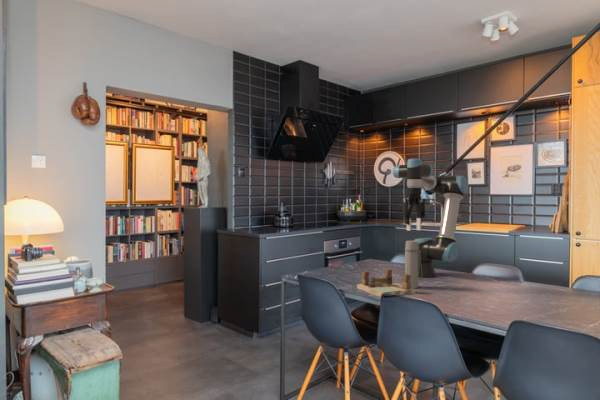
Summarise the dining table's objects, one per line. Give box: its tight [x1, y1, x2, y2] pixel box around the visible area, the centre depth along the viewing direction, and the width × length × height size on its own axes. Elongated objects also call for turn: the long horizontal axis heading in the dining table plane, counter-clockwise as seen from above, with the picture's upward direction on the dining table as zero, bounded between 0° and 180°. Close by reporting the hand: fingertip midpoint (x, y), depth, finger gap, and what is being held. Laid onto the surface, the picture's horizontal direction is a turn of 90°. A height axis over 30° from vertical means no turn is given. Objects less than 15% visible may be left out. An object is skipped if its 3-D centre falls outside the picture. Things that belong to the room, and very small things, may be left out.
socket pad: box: [371, 286, 399, 293], centre depth 196 cm, size 10×10×1 cm
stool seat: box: [356, 268, 416, 298], centre depth 203 cm, size 21×21×9 cm
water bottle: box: [404, 240, 423, 289], centre depth 210 cm, size 9×8×25 cm
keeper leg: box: [369, 276, 393, 287], centre depth 204 cm, size 3×13×4 cm, turn 110°
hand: (413, 230), depth 210 cm, fingers open, 6 cm apart
